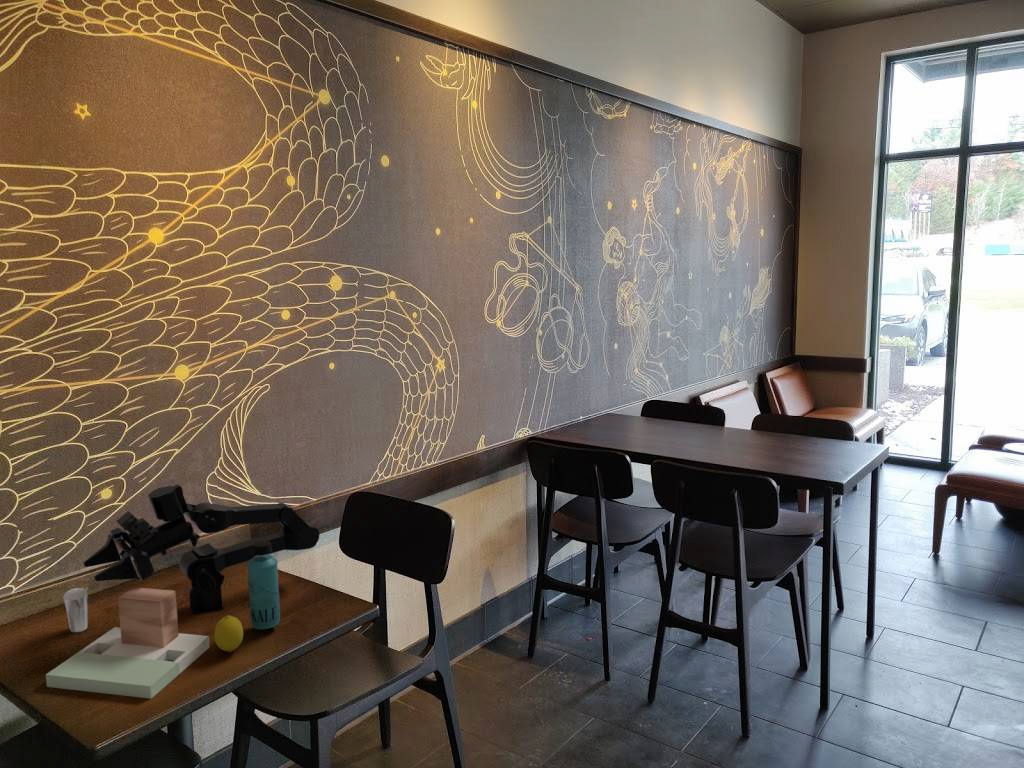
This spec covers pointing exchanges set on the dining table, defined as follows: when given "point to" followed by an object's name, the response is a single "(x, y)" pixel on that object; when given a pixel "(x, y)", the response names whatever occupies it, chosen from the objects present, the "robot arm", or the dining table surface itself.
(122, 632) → the terracotta block
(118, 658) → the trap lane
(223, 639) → the lemon
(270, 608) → the beverage bottle
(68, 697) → the dining table surface
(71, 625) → the milkshake
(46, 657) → the dining table surface
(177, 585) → the dining table surface
